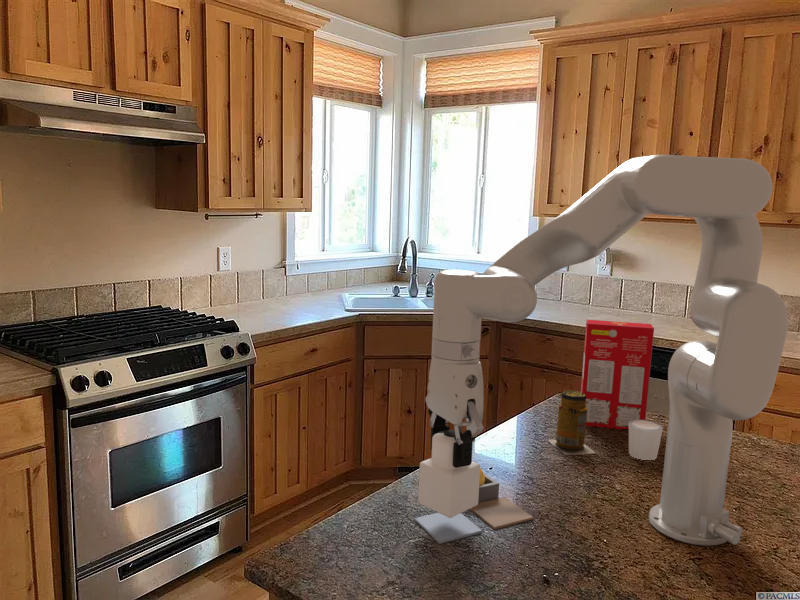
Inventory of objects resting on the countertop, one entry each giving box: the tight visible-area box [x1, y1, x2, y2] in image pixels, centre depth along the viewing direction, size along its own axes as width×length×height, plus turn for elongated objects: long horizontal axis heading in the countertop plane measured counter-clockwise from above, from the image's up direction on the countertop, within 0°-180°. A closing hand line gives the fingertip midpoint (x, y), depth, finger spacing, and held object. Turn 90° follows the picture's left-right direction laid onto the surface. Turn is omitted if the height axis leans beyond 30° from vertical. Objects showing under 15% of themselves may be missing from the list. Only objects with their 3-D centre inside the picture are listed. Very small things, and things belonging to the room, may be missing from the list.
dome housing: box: [478, 472, 500, 503], centre depth 117 cm, size 7×7×3 cm
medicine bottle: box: [417, 429, 481, 518], centre depth 104 cm, size 7×7×12 cm
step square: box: [468, 496, 534, 530], centre depth 110 cm, size 8×8×1 cm
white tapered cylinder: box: [628, 419, 664, 461], centre depth 137 cm, size 7×7×7 cm
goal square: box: [414, 512, 483, 545], centre depth 106 cm, size 8×8×1 cm
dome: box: [479, 467, 486, 486], centre depth 117 cm, size 5×5×5 cm
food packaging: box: [580, 319, 655, 430], centre depth 154 cm, size 15×5×25 cm, turn 77°
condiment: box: [547, 390, 596, 456], centre depth 140 cm, size 7×8×12 cm
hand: (450, 456), depth 104 cm, fingers closed on medicine bottle, 6 cm apart
